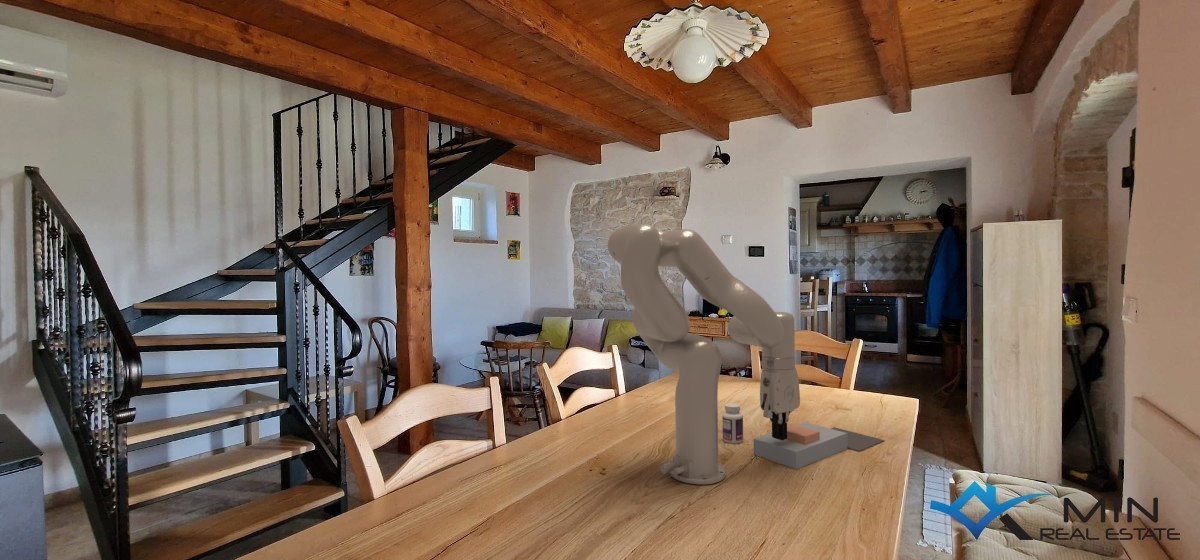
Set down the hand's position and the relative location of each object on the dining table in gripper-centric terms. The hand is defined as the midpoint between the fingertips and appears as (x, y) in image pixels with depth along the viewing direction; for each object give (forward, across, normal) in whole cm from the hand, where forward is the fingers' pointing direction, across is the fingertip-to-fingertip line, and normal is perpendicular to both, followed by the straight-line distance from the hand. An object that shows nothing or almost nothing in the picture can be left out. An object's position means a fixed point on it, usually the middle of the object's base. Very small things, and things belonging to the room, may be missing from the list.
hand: (779, 438), depth 125 cm
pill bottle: (+5, +2, +16) cm, 17 cm away
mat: (+5, +26, -2) cm, 27 cm away
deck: (+5, +9, 0) cm, 10 cm away
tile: (+1, +7, 0) cm, 7 cm away
